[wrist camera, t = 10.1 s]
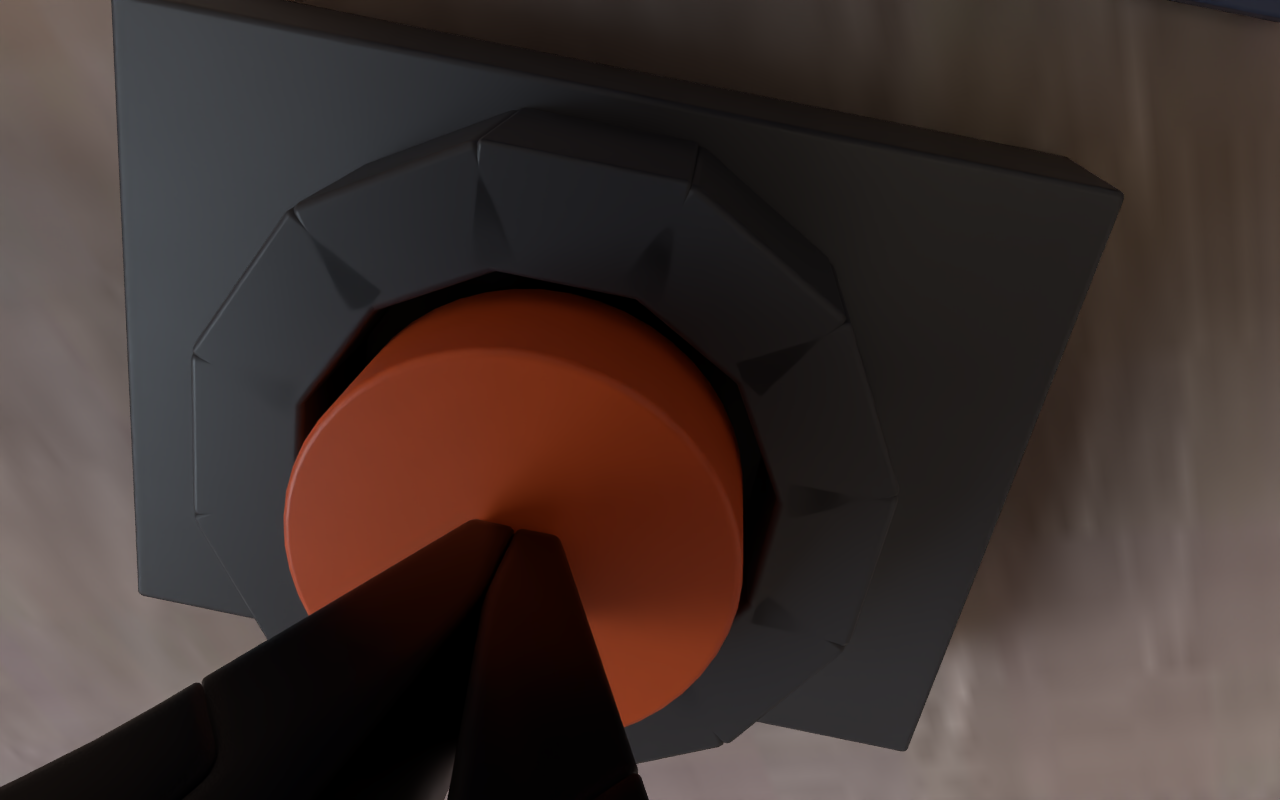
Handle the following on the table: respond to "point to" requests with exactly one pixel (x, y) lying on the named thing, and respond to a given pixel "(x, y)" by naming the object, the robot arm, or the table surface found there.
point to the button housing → (613, 274)
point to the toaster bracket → (1242, 7)
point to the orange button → (539, 473)
